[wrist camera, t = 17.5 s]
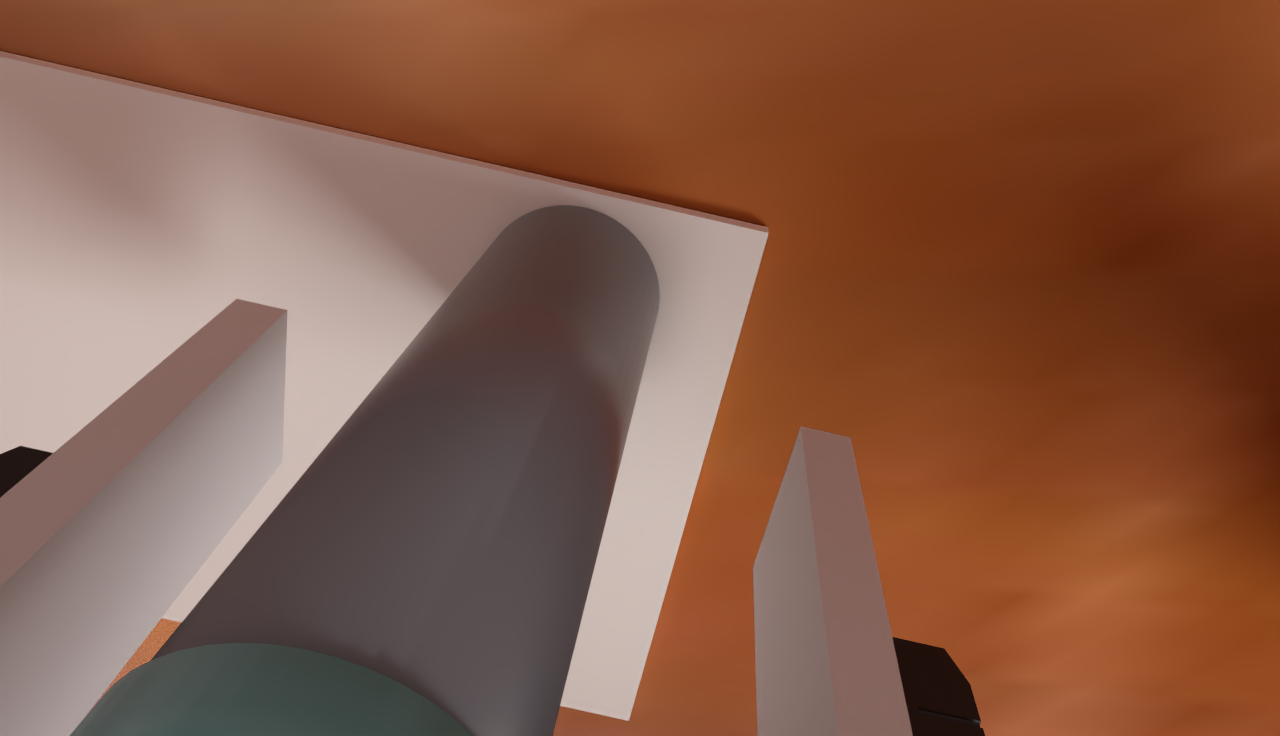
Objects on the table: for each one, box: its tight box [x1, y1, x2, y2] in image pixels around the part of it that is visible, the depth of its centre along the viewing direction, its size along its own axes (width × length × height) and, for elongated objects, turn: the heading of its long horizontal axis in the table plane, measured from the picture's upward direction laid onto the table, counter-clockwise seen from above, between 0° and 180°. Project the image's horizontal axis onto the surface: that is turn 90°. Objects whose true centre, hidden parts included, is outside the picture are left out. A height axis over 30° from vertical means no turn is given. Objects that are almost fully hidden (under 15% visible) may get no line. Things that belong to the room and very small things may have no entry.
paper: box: [0, 51, 769, 721], centre depth 19 cm, size 12×16×1 cm
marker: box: [70, 205, 660, 736], centre depth 11 cm, size 3×3×13 cm
